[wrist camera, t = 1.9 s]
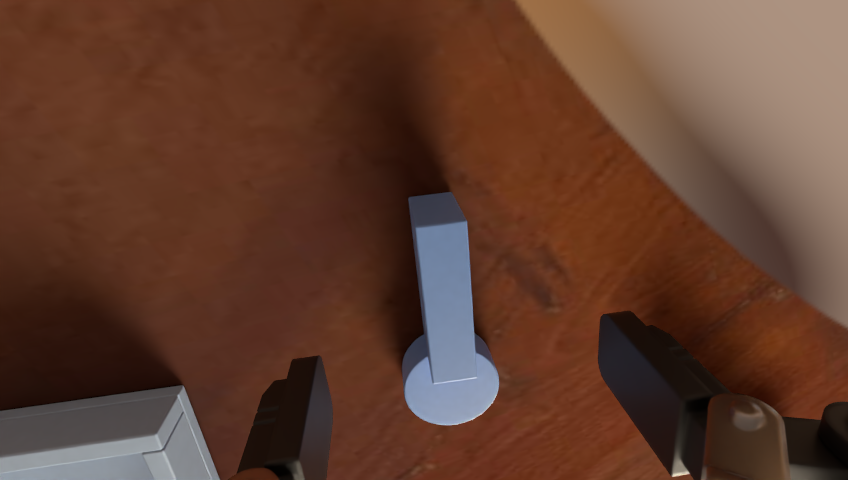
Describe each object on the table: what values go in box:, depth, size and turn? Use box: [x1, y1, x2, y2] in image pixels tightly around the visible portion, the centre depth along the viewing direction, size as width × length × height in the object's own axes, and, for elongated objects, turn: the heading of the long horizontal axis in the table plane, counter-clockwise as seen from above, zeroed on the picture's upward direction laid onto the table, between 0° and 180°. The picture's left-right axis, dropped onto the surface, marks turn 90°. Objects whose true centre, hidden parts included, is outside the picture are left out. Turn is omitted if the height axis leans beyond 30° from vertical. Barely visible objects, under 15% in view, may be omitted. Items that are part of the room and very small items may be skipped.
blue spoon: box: [402, 192, 499, 425], centre depth 17 cm, size 10×4×3 cm, turn 6°
